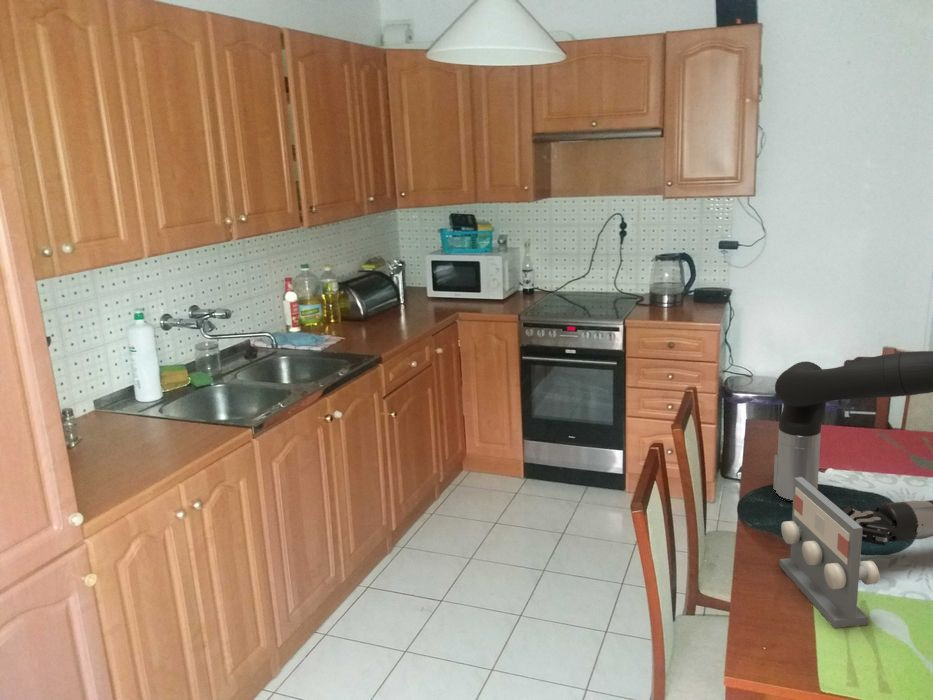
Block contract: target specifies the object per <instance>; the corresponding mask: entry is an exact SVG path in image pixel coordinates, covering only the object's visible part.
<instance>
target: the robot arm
mask: <svg viewBox="0 0 933 700" xmlns="http://www.w3.org/2000/svg"><path fill="white" fill-rule="evenodd" d="M774 384H775V385H774V392H775V394H776V396H777V398H778V399H779V400H780V401H781V402H783V403H784V406H783V408H782V412H781V414H780V416H779V420H778V439H777V440H778V441H777V443H778V444H777V454H774V461H773V462H774V463H773V464H774V465H773V486H772V487H773V488H772V490H773V489H774V490H776V492H775V494H776V493H777V494H778V495H779V496H781V497H783V498H786V499H790V500H793V493H794V478H797V477H803V478H804V479H805V480H806V481H807V482H809V483H810V484H811V485H812V486H813V487H815V488H816V489H817V490H818V485H819V484H818V483H819V473H820V472H819V470H820V453H821V438H822V437H821V434H822V424H823V421H824V419H825V415H826V406H827V403H828V402H833V401H842V400H861V399H862V400H866V399H878V398H881V399H882V398H896V397H905V396H907V397H909V396H915V395H923V394H931V393H933V350H920V351H919V350H918V351H917V350H916V351H904V352H903V351H902V352H895V353H888V354H886V353H885V354H882V355H877V356H872V357H869V358H865V359H861V360H858V361H854V362H850V363H848V364H844V365H842V366H837V367H833V368H832V367H831V368H822V367H820V366H819V365H818V364H816V363H814V362H811V361H800V362H797V363H795V364H793V365H792V366H790V367H789V368H787V369H786V370H784V371H783V372H782V373H780V375H779V376H778V378H777V379H776V382H775V383H774ZM774 490H773V491H774ZM842 511H843V512H844V513H846V514H847V515H848V516H849V517H850V518H852V519H853V520H854V521H855V522H856V523H857V524H859V525H860V526H861V527H862V528H863V531H862V542H865V543H870V544H874V545H878V546H887V543H888V542H890V543H894V542H895V543H896V542H903V541H904V542H905V541H913V540H922V539H928V538H932V537H933V500H932V499H931V500H909V501H899V502H898V501H897V502H889V503H888V502H887V503H881V504H879V505H878V507H876V508H875V509H874V510H867V509H865V510H862V511H860V510H857V509H855V505H848V506H847V507H845V508H844V509H842Z"/></svg>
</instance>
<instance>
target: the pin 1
mask: <svg viewBox="0 0 933 700" xmlns="http://www.w3.org/2000/svg"><path fill="white" fill-rule="evenodd" d="M780 529H781V534H782V535H781V536H782V538H783V541H784V543H786V544H787V545H791V544H795V543H798V542H799V540H800V538H802V528H801V527H800V526H799V525H797V524H796V523H795V522H794V521H792V520H787V521H783V522H781V527H780Z"/></svg>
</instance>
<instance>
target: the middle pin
mask: <svg viewBox="0 0 933 700" xmlns="http://www.w3.org/2000/svg"><path fill="white" fill-rule="evenodd" d="M802 552H803V557H804V559H805V561H806V563H807V564H808V565H819V564H821V562H822V559H823V548H822V547H820V546H819V544H818V543H817V542H816V541H805V542H804V543H803V545H802Z"/></svg>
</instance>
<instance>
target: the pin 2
mask: <svg viewBox="0 0 933 700" xmlns="http://www.w3.org/2000/svg"><path fill="white" fill-rule="evenodd" d="M824 575H825V579H826V582H827V584H828V585H829V587H830V588H831V589H840V588H844V587H845V585H846V581H847V572H846V571H845V570H844V569H843V568H842V566H841V565H840V564H839V563H830V564H826V565H825V567H824ZM860 581H861V582H862V583H863V584H864V585H876V584H878V583H879V581H880V571H879V568H878V566H877V565H876V563H875V562H874V561H873V560H863V561H861V560H860V569H859V582H860Z"/></svg>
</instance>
